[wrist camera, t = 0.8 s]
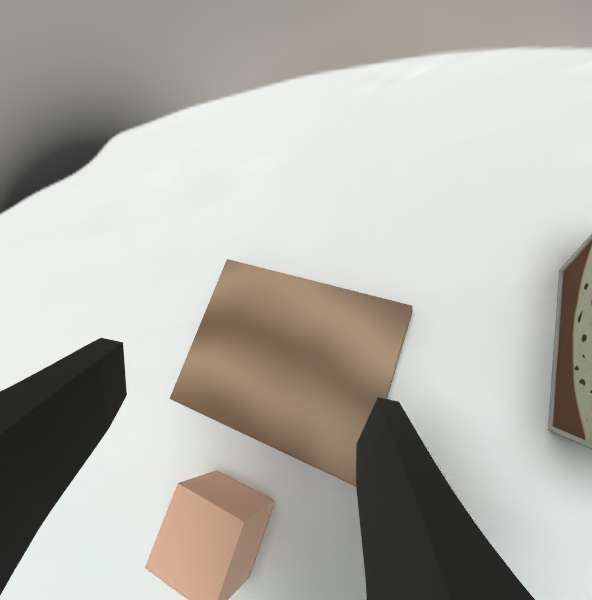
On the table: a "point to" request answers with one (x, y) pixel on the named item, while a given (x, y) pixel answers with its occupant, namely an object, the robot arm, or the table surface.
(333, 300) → the base board
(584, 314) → the food container
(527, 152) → the table surface
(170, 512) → the terracotta cube
